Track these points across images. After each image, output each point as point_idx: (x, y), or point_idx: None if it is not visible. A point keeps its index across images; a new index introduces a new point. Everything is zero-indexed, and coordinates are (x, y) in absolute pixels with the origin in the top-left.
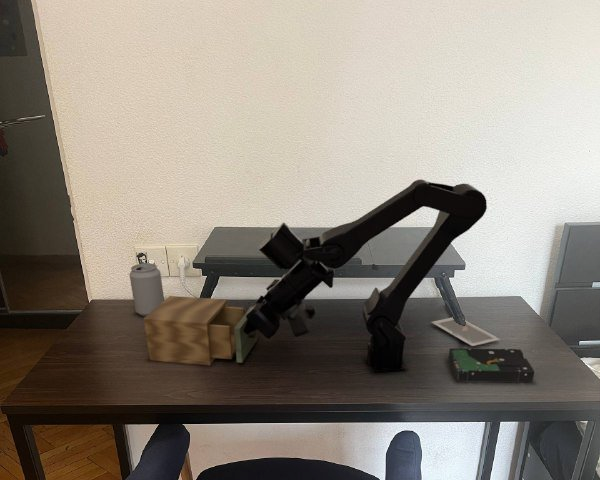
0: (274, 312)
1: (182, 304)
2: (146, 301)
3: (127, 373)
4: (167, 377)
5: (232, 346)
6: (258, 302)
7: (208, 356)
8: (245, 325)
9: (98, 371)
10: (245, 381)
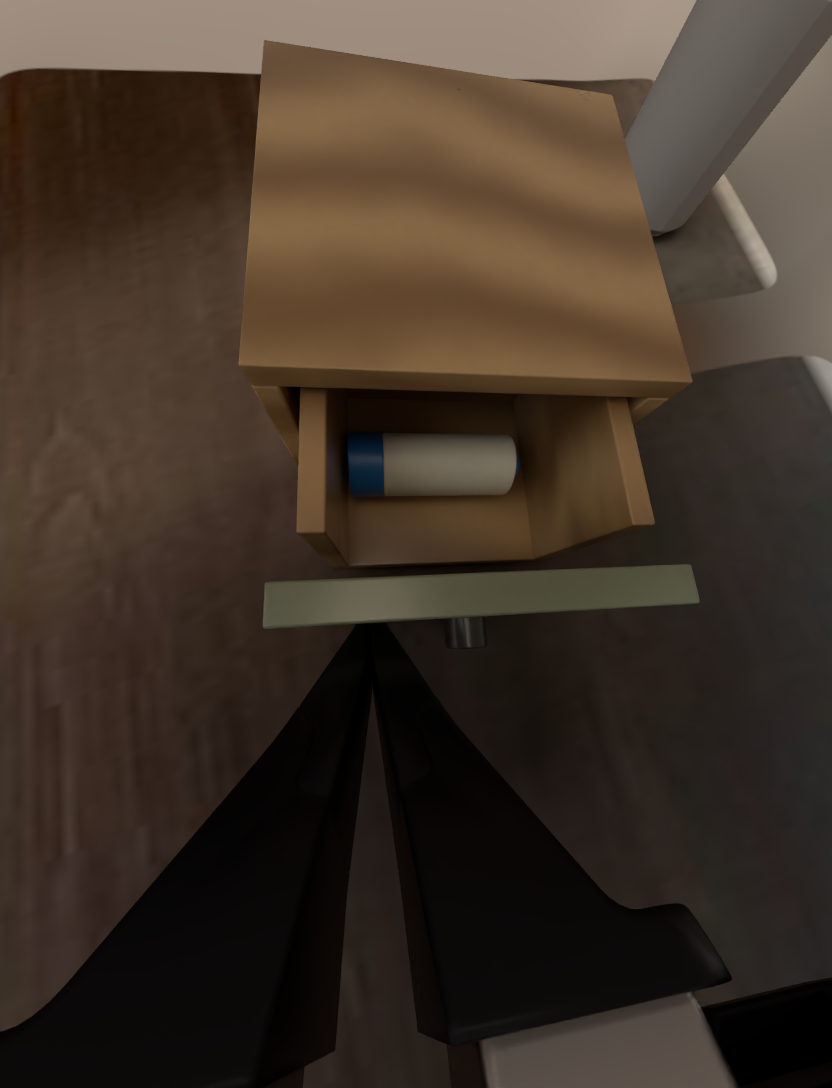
0: (451, 1081)
1: (521, 168)
2: (645, 138)
3: (216, 269)
4: (201, 388)
5: (424, 540)
6: (435, 970)
7: None
8: (339, 651)
9: (219, 196)
10: (198, 678)
